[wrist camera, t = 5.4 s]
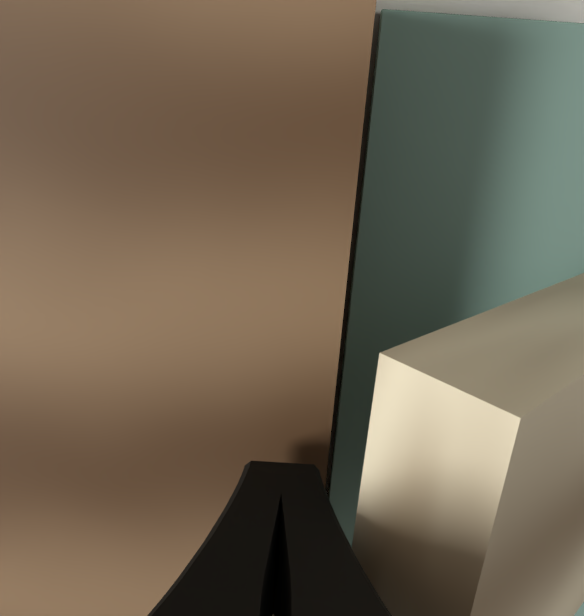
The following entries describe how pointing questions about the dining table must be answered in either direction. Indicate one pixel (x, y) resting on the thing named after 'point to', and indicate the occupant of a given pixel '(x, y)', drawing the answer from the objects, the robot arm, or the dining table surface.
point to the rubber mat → (458, 193)
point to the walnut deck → (164, 275)
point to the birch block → (480, 464)
